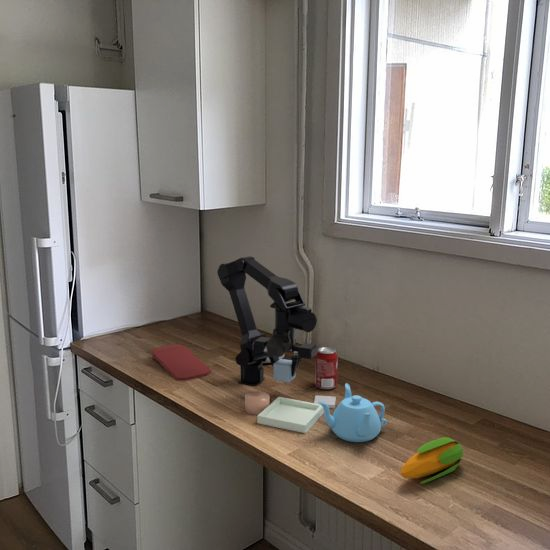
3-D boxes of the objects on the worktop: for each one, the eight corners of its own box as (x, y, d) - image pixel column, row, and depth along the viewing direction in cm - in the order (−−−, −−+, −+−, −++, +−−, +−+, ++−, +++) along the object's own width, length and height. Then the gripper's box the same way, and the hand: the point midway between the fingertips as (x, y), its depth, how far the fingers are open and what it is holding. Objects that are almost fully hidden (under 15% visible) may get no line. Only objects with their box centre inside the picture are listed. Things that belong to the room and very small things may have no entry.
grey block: (313, 408, 180) (313, 403, 179) (315, 400, 185) (315, 395, 185) (334, 409, 179) (334, 405, 178) (335, 401, 184) (335, 396, 184)
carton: (212, 384, 206) (178, 353, 225) (213, 371, 204) (179, 340, 223) (178, 393, 199) (147, 359, 218) (179, 379, 197) (147, 346, 216)
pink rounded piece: (240, 412, 176) (240, 399, 175) (251, 402, 182) (251, 390, 181) (263, 416, 173) (263, 403, 172) (273, 407, 179) (273, 394, 179)
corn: (472, 437, 145) (415, 463, 133) (472, 467, 146) (416, 496, 134) (446, 427, 151) (389, 452, 139) (446, 457, 152) (390, 484, 140)
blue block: (273, 379, 185) (273, 363, 184) (280, 374, 189) (280, 358, 188) (289, 382, 183) (289, 366, 182) (295, 376, 187) (295, 361, 186)
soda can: (335, 391, 190) (336, 354, 188) (313, 389, 192) (314, 352, 189) (338, 383, 197) (339, 347, 194) (316, 381, 198) (317, 345, 196)
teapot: (393, 431, 165) (395, 394, 163) (366, 453, 153) (368, 414, 151) (345, 416, 173) (346, 382, 171) (316, 436, 161) (316, 399, 159)
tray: (257, 423, 169) (257, 415, 169) (278, 403, 181) (278, 396, 181) (305, 433, 163) (305, 425, 163) (324, 412, 176) (324, 405, 175)
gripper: (243, 327, 179) (244, 379, 182) (304, 336, 171) (303, 389, 175) (260, 318, 189) (261, 366, 192) (318, 325, 181) (317, 376, 185)
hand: (284, 374), depth 186 cm, fingers closed on blue block, 5 cm apart
